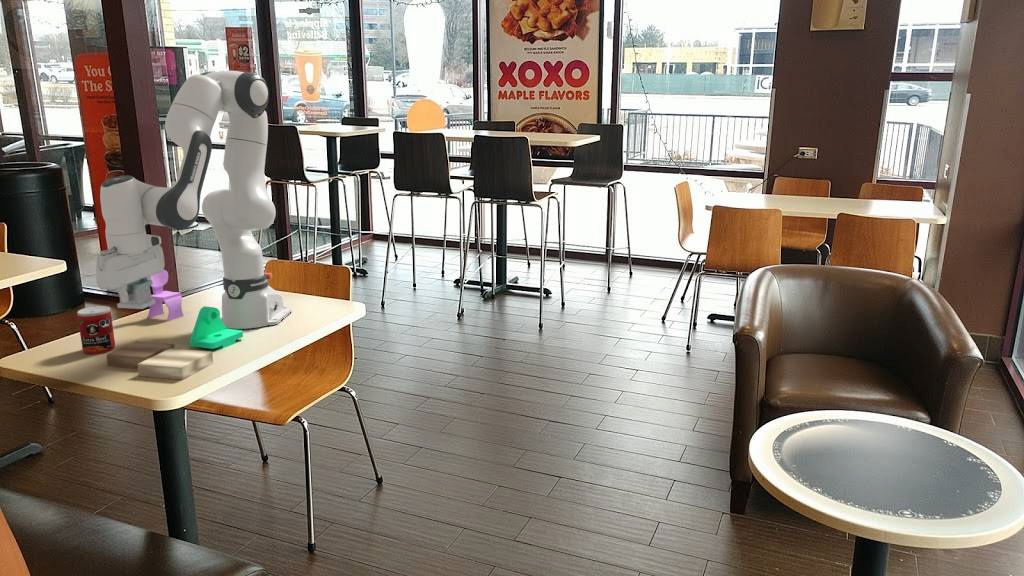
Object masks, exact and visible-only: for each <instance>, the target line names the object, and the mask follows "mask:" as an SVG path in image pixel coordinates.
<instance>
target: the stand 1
mask: <svg viewBox="0 0 1024 576" xmlns="http://www.w3.org/2000/svg"><path fill="white" fill-rule="evenodd" d="M168 349H175V344H174V343H166V342H153V341H141V340H140V341H137V340H136V341H134V342H131V343H130V344H128V345H125V346H123V347H121V348H117V349H116V350H112V351H111V352H108V353H107V354H106V353H105V354H106V361H107V366H108V367H114V368H115V367H116V368H126V369H127V368H129V369H138V364H139V363H141V362H143V361H145V360H147V359H149V358H151V357H153V356H155V355H158V354H160V353H162V352H164V351H166V350H168Z"/></svg>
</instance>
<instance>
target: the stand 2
mask: <svg viewBox="0 0 1024 576" xmlns="http://www.w3.org/2000/svg"><path fill="white" fill-rule="evenodd" d="M213 357H214V356H213V351H209V350H196V349H194V350H193V349H183V348H182V349H181V348H180V349H179V348H174V349H168V350H166V351H164V352H162V353H160V354H158V355H155V356H153V357H151V358H149V359H147V360H145V361H143V362H141V363H139V364H138V368H137V370H138V376H140V377H146V376H148V377H149V378H158V379H159V378H160V379H169V378H170V379H173V380H182V381H183V380H185V379H187V378H189V377H191V376H192V375H195V374H196V373H198V372H200V371H201V370H203V369H205V368H208V367H209V366H210V365H212V364H214V358H213Z"/></svg>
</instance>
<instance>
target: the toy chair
mask: <svg viewBox="0 0 1024 576" xmlns="http://www.w3.org/2000/svg"><path fill="white" fill-rule="evenodd" d="M150 277H151V280H152V282H153V284H152V285H150V288H152V293H153V294H152V293H151V298H152V300H155V302H156V304H153V305H151V306H148V307H149V309H148V310H149V311H148V314H147V317H146V319H147V320H149V319H151V318H154V317H157V316H162V315H164V314H165V312H164V308H163V303H164V304H165V305H166V307H167V309H168V314H167V318H166V322H170V321H172V320H173V319H174V320H176V318H177V319H180V318H181V317H182V316H183V317H184V312H183V309H182V307H183V306H182V302H183V301H182V300H183V297H182V295H181V292H179V291H178V292H177V291H175V292H174V291H170V290H164V286H165V285H166V284H167V283H168V281H169V273H168V271H167V270H165V268H164V269H163V271H162V272H159V273H156V274H154V275H151V276H150ZM179 317H180V318H179ZM183 317H182V318H183ZM174 320H173V321H174Z"/></svg>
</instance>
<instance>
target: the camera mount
mask: <svg viewBox="0 0 1024 576" xmlns="http://www.w3.org/2000/svg"><path fill="white" fill-rule="evenodd" d="M220 317H221V312H220V309H218V308H217V307H214V306H206V305H204V306H202V307H201V308H200V310H199V311H198V314H197V317H196V321H195V324H194V326H193V330H192V333H191V335H190V336H191V337H190V339H189V344H190V346H191V347H196V348H197V347H198V348H203V349H209V350H211V349H212V350H213V349H217V348H219V349H225V348H228V347H229V346H232V345H234V344H236V342H237V340H238V339H242V338H244V333H243V329H233V328H227V327H226V326H225V325H224V323H223V322H222V320H221V319H220Z"/></svg>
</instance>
